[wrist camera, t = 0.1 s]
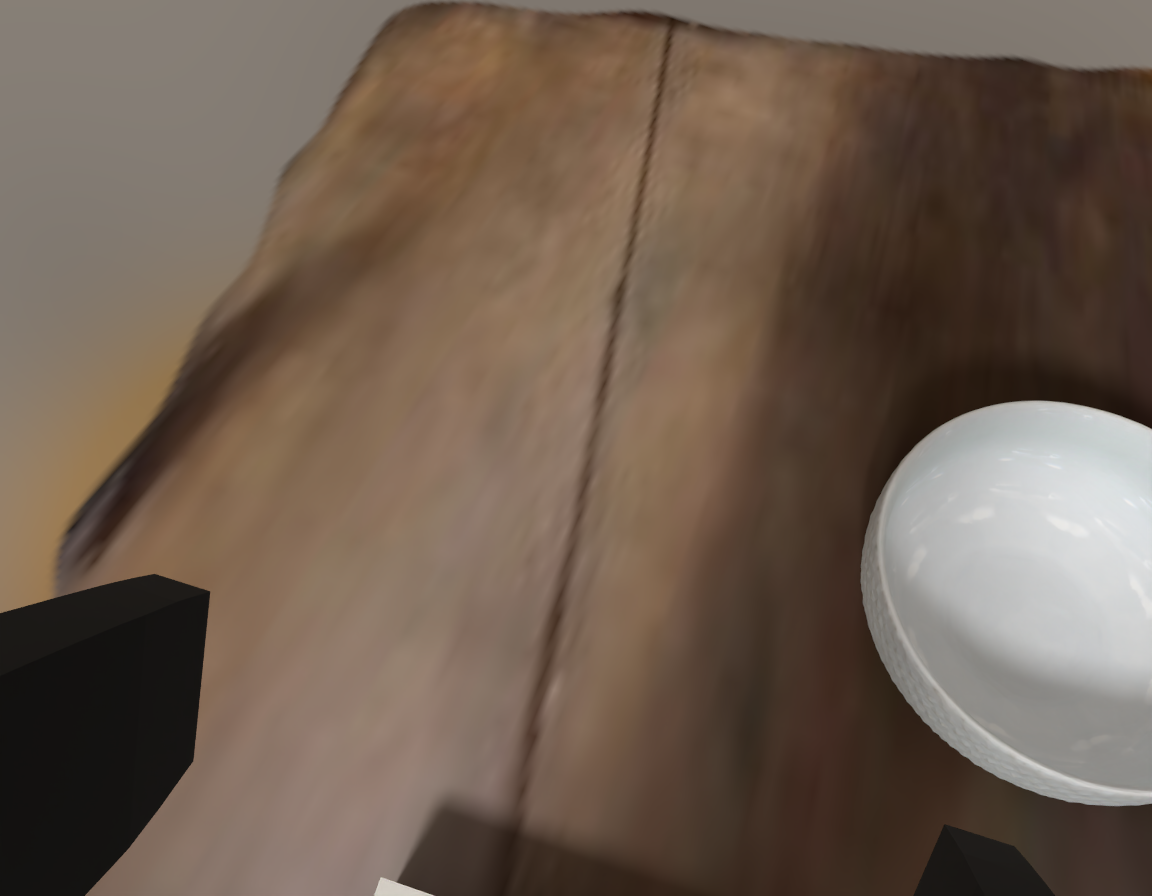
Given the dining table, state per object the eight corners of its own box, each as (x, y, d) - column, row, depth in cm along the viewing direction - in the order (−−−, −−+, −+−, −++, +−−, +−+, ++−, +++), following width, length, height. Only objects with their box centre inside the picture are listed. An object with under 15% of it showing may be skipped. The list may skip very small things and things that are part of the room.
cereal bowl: (840, 807, 40) (894, 773, 33) (822, 459, 48) (863, 381, 42) (1250, 845, 39) (1381, 819, 33) (1160, 489, 48) (1252, 415, 41)
